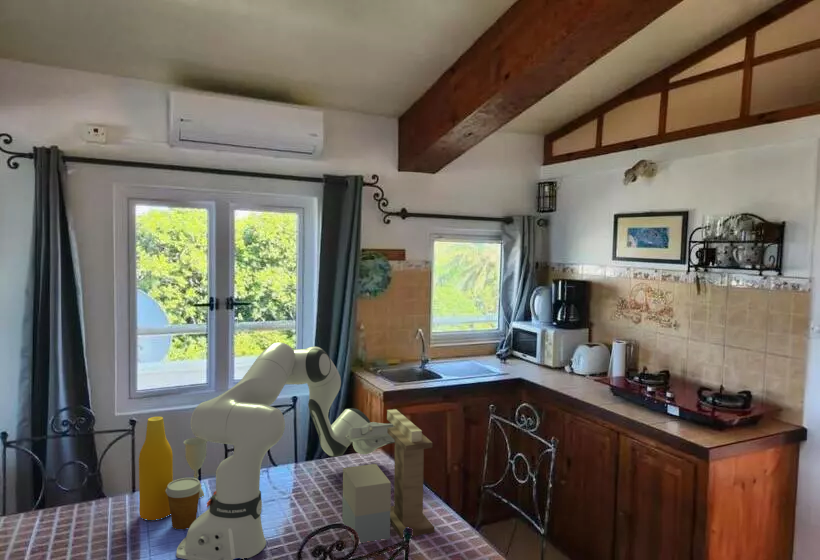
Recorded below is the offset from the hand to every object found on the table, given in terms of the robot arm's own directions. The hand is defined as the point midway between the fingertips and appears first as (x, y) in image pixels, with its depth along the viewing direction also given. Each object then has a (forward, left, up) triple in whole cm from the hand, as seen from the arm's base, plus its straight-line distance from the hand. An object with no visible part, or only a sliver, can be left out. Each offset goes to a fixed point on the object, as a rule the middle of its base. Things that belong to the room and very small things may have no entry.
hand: (383, 426), depth 183 cm
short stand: (+10, -21, -21) cm, 32 cm away
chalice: (-59, -11, -21) cm, 64 cm away
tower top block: (-2, -27, -13) cm, 30 cm away
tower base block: (-2, -27, -21) cm, 34 cm away
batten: (+8, -17, +5) cm, 19 cm away
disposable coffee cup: (-54, -29, -21) cm, 65 cm away
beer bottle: (-65, -24, -21) cm, 73 cm away
